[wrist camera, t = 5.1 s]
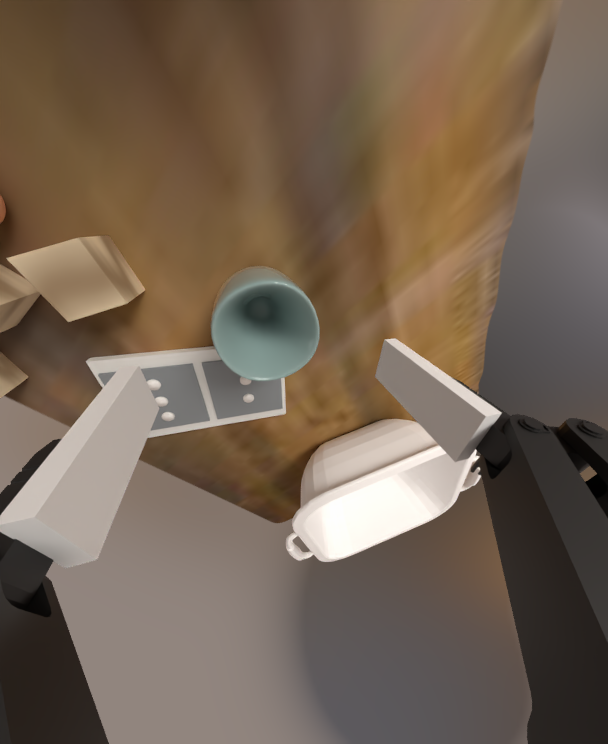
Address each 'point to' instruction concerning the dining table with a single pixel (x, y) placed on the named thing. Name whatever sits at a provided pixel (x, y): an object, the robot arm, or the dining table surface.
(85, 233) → the dining table surface
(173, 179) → the dining table surface
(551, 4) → the dining table surface
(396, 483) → the baking dish
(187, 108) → the dining table surface
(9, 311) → the block
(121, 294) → the block
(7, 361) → the block
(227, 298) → the cup
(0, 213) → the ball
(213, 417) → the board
